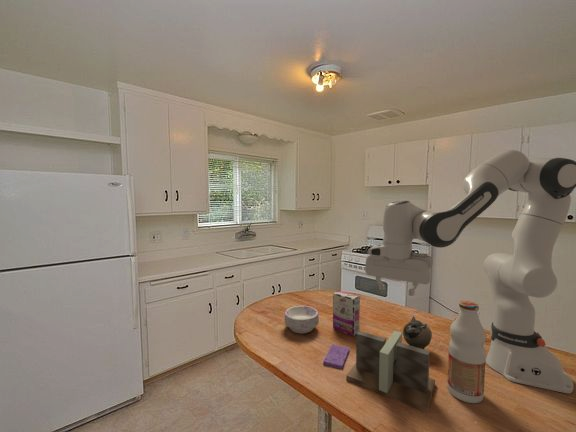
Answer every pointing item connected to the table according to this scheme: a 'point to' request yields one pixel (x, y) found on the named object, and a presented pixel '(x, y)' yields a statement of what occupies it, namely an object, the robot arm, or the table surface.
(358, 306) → the candy bar box
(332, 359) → the sponges
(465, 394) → the fruit juice
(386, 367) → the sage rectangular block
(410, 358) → the slotted stand
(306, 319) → the white patterned bowl
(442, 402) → the table surface
